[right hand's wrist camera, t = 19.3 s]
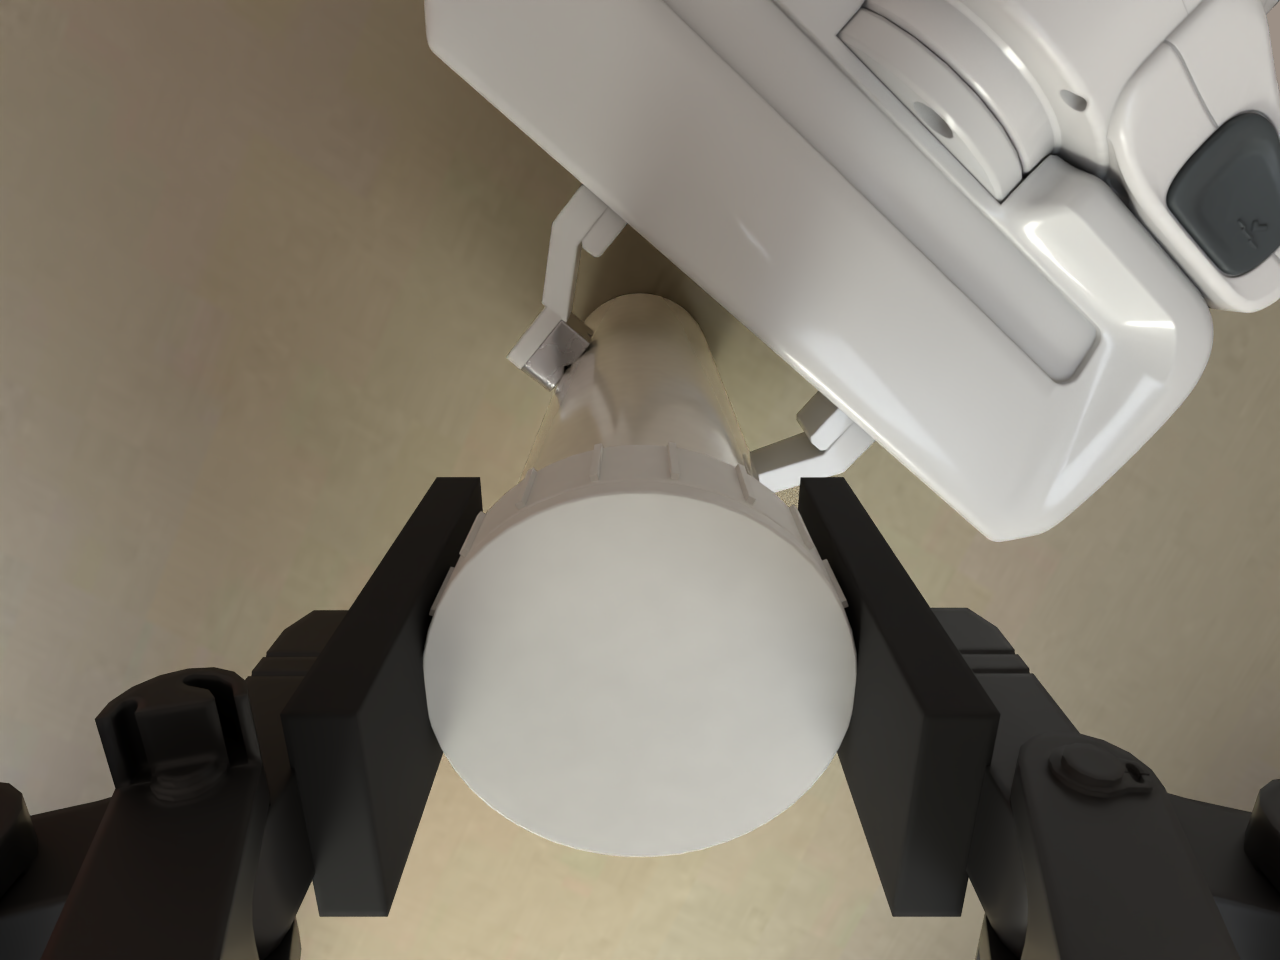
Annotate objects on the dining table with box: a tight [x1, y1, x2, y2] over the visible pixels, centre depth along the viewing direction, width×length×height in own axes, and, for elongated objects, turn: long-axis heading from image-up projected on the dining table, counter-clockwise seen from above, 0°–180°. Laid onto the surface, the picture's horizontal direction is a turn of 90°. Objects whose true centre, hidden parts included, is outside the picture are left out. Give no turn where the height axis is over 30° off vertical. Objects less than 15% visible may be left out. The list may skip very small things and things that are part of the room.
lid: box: [423, 442, 857, 857], centre depth 11 cm, size 6×6×2 cm
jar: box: [518, 293, 762, 483], centre depth 20 cm, size 5×5×18 cm
